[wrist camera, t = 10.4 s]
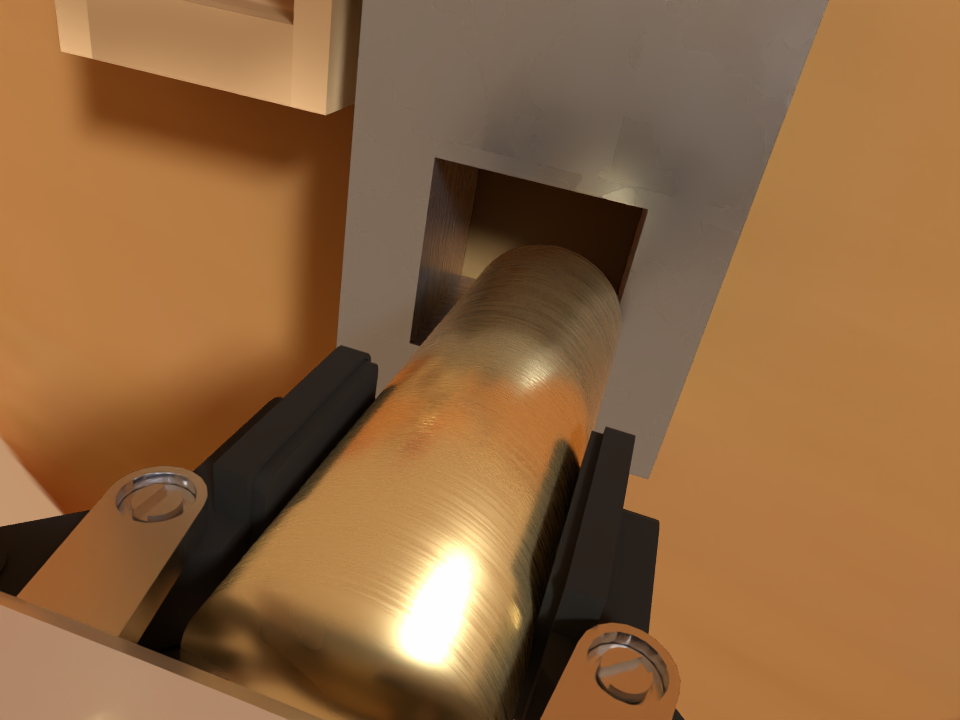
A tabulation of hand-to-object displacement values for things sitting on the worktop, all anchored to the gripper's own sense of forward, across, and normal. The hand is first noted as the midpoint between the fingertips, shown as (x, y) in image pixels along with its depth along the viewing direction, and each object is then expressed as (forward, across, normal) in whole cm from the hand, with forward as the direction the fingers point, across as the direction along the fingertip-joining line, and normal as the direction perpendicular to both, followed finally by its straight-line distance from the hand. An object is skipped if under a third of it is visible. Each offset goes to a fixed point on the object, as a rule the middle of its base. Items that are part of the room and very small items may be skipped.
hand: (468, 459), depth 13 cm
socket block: (+13, +1, -3) cm, 13 cm away
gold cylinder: (+7, 0, 0) cm, 7 cm away
